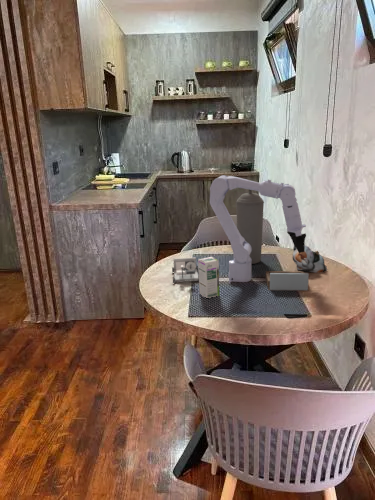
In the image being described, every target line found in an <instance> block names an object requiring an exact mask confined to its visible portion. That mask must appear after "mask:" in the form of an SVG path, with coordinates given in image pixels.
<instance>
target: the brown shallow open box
mask: <svg viewBox="0 0 375 500" xmlns="http://www.w3.org/2000/svg"><path fill="white" fill-rule="evenodd" d="M270 273H305V271H304V270H294V271H293V270H268V271H267V270H265V282H266V285H267V289H268V291H271V290H270ZM290 291H293V292H294V291H296V292H297V291H299V292H300V291H303V292H304V291H305V292H307V291H310V289H309V288H308V290H290Z"/></svg>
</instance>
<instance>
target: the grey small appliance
mask: <svg viewBox="0 0 375 500" xmlns="http://www.w3.org/2000/svg"><path fill="white" fill-rule="evenodd" d="M172 261H173V266H172V267H171V268H172V270H171V273H172V272H174V274H173V275H174V276H173V277H172V284H173V283H175V284H176V283H179V282H193V281H198V282H199V268H198V265H197V257H195V256H194V257H179V258H173V259H172Z"/></svg>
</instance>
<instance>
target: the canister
mask: <svg viewBox="0 0 375 500" xmlns="http://www.w3.org/2000/svg"><path fill="white" fill-rule="evenodd" d="M247 190H248V192H246V193H242V194H241V195H240V196H239V197H238V198H237V200H236V202H235V206H236V227H237V229H238V231H239V233H240V234H241V236H242V237H243V238H244V239H245V241H246V242H247V243H249V244H250V246H251V248H252V251H251V253H250V255H249V256H250V258H251V259H252V264H251V265H253V264H258V263H260V262H261V261H262V245H263V227H264V226H263V225H264V204H265V202H264V199H263V198H262V197H261V196H260V194H258V193H256V192H252V190H249V189H247Z"/></svg>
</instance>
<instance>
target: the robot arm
mask: <svg viewBox="0 0 375 500" xmlns="http://www.w3.org/2000/svg"><path fill="white" fill-rule="evenodd" d="M237 188H239V189H245V190H248V189H249V190H251V191H256V192H258V193H259V195H261V196H264V197H267V198H273V199H280V201H281V205H282V212H283V215H284V220H285V221H284V222H285V224H286V233H287V234H288V235H289V238H290V239H291V240H292V241H291V242H292V243H293V247H294V246H295V248H297V250H298V252H299V253H301V252H304V251H305V246H306V245H305V242H306V238H307V234H306V233H302V230H303V228H306V227H307V225H306V224H305V223H304V224H303V222H302V218H301V212H300V209H299V204H298V200H297V197H296V190H295V187H294V186H293V185H291V184H289V183H284V182H280V183H279V182H275V181H272V179H267V180H263V181H261V182H258V181H254V180H250V179H246V178H242V177H237V176H233V175H224V174H223V175H220V176H218V177H217V178H215V179H213V181H212V182H211V184H210V187H209V205H210V206H211V209H212V211H213V212H214V214H215V216H216V218H217V220H218V222H219V224H220V225H221V228H222V229H223V231H224V233H225V235H226V237H227V238H228V241H229V242H230V247H231V250H232V252H233V253H232V256H233V259H231V260H228V273H227V274H228V275H227V276H228V284H229V285H231V282H236V283H237V282H240V283H248V282H250V281H251V280H252V265H253V264H252V259H251V258H250V256H249V255H250V253H251V251H252V248H251V246H250V244H249V243H247V242H246V241H245V239H244V238H243V237H242V236H241V234H240V233H239V231H238V229H237V224H235V222H234V220H233V217H232V216H231V214H230V212H229V210H228V208H227V206H226V205H225V203H224V200H225V197H226V194H227V193H228V192H229V191H232V190H234V189H237ZM249 190H248V191H249Z"/></svg>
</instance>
